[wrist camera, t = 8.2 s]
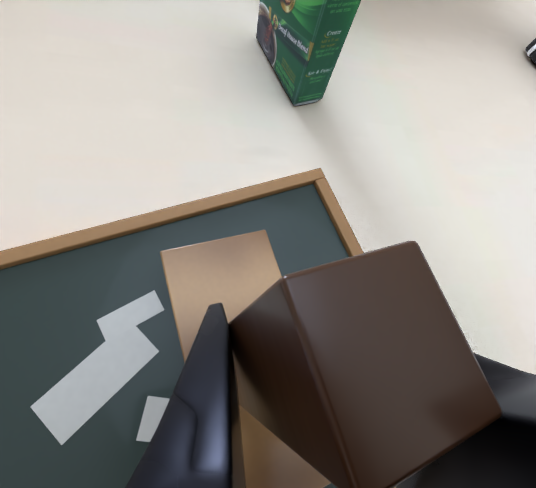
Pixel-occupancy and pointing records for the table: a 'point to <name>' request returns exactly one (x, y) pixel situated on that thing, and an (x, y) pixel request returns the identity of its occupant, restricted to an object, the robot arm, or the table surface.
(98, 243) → the slate board
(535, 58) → the battery charger
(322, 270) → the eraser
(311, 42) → the coffee box
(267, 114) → the table surface
